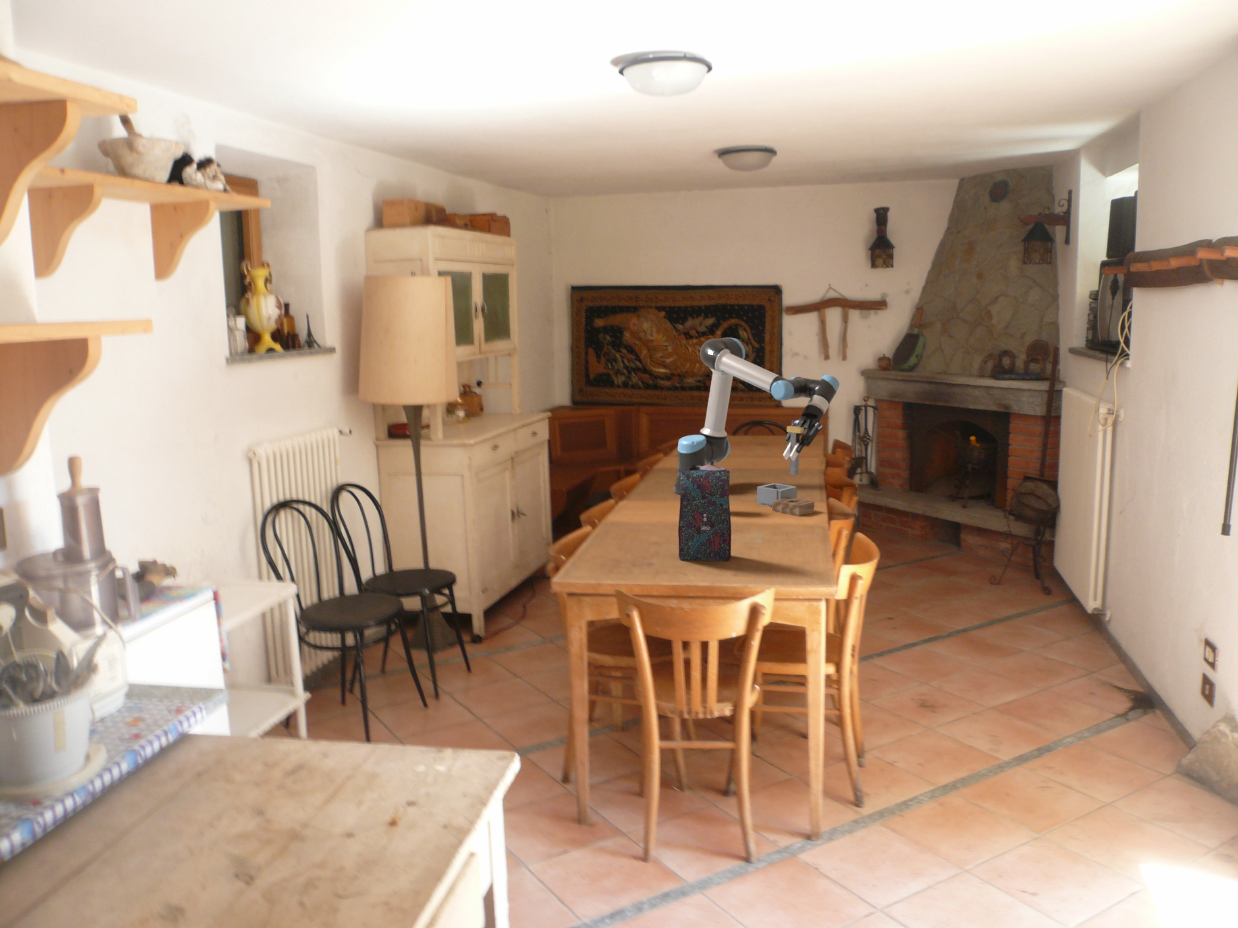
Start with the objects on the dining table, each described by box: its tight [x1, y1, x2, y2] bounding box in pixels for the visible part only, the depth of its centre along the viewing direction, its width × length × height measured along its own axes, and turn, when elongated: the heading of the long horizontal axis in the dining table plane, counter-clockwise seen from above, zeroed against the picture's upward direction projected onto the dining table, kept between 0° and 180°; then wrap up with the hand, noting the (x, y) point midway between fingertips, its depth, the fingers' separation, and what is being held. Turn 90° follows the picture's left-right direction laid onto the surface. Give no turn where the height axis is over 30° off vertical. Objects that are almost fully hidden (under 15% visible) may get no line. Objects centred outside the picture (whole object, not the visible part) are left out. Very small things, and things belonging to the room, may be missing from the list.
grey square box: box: [756, 482, 798, 507], centre depth 379 cm, size 11×11×7 cm
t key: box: [786, 425, 804, 476], centre depth 362 cm, size 6×2×18 cm, turn 45°
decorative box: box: [677, 469, 732, 562], centre depth 301 cm, size 8×16×28 cm, turn 84°
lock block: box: [772, 497, 815, 517], centre depth 366 cm, size 12×10×4 cm
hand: (788, 457), depth 360 cm, fingers closed on t key, 2 cm apart
